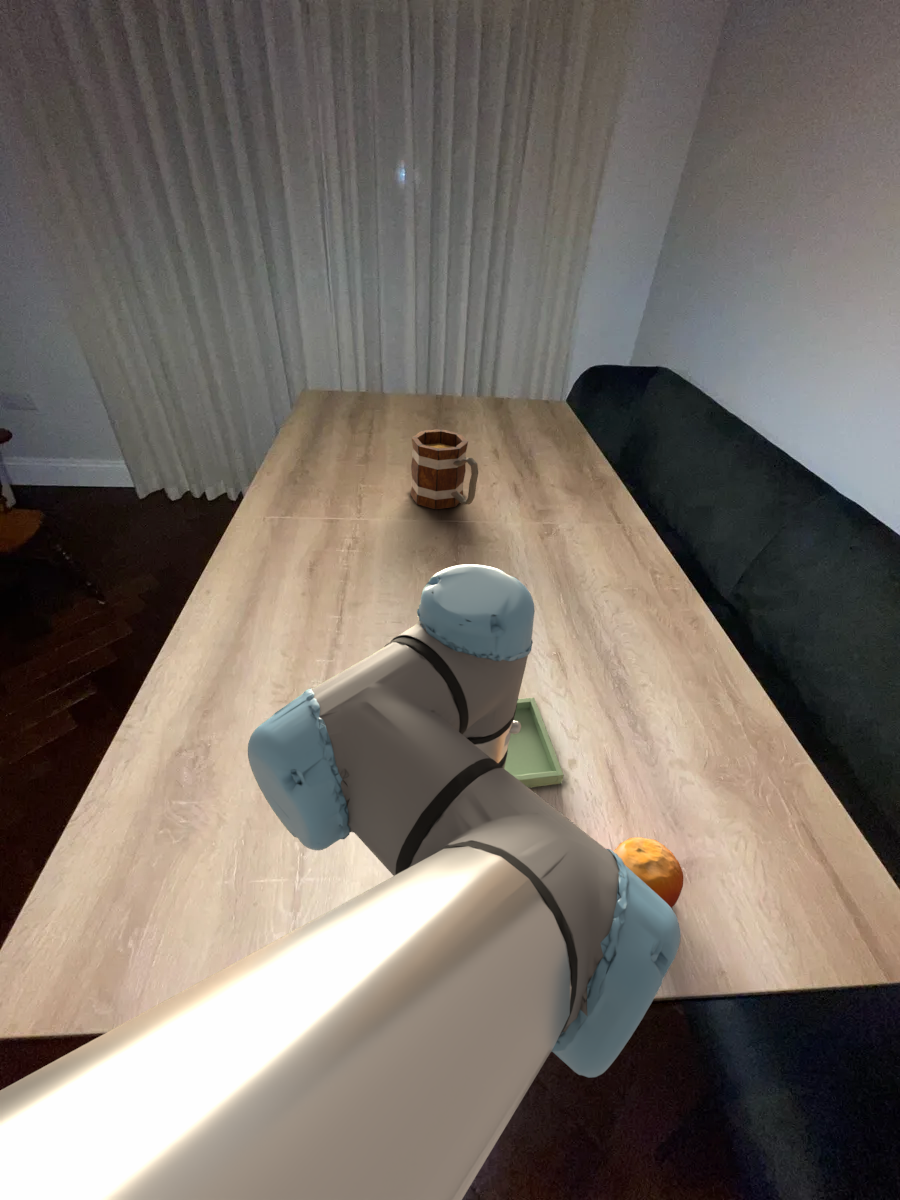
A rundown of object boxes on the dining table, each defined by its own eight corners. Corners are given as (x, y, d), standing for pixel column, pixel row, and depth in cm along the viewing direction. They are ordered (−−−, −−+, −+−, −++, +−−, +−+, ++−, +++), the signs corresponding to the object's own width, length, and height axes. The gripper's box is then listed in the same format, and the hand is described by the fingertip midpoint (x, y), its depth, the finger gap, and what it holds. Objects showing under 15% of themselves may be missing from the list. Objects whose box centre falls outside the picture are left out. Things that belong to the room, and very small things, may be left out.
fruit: (645, 952, 55) (638, 884, 53) (597, 904, 62) (589, 843, 61) (703, 919, 58) (697, 854, 56) (650, 877, 65) (644, 818, 64)
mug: (399, 493, 135) (399, 436, 125) (438, 480, 142) (441, 425, 133) (451, 525, 124) (456, 465, 114) (491, 508, 131) (498, 451, 122)
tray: (447, 798, 69) (448, 788, 68) (432, 715, 79) (433, 706, 78) (560, 784, 71) (563, 775, 70) (532, 706, 82) (534, 697, 81)
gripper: (485, 884, 34) (461, 995, 48) (523, 658, 51) (496, 790, 65) (374, 855, 35) (382, 972, 49) (447, 643, 52) (437, 776, 66)
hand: (447, 869), depth 57 cm, fingers closed on lid, 9 cm apart
